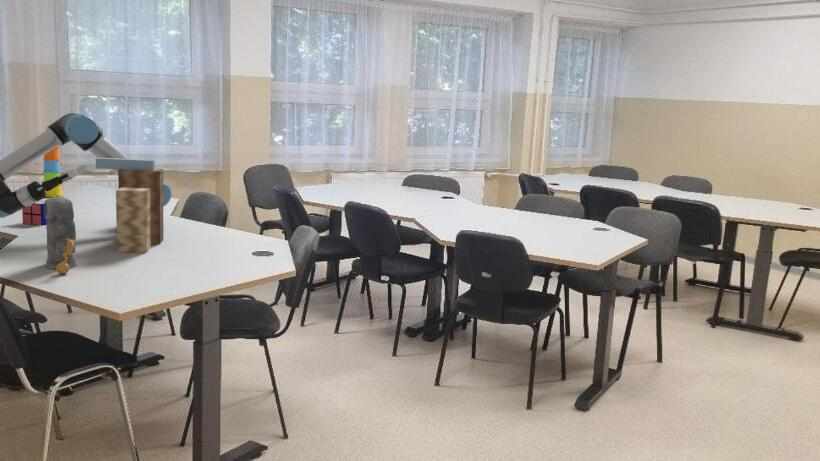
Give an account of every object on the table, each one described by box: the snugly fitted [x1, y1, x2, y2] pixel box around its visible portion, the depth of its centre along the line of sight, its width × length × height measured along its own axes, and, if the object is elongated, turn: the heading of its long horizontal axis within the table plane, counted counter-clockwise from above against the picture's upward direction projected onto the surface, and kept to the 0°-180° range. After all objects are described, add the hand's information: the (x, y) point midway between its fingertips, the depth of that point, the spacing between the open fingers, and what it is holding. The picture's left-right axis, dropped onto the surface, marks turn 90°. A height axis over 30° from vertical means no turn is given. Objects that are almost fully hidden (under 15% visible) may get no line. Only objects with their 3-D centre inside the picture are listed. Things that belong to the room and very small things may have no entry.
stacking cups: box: [42, 146, 64, 198], centre depth 402 cm, size 10×10×35 cm
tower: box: [117, 168, 165, 245], centre depth 297 cm, size 16×9×30 cm, turn 101°
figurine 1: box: [44, 195, 77, 270], centre depth 251 cm, size 10×14×25 cm
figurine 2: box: [55, 239, 76, 275], centre depth 241 cm, size 8×6×12 cm
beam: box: [95, 157, 156, 171], centre depth 293 cm, size 22×4×4 cm, turn 101°
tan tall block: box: [115, 188, 152, 253], centre depth 281 cm, size 11×9×24 cm
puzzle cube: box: [21, 199, 47, 227], centre depth 325 cm, size 10×10×10 cm
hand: (80, 169), depth 290 cm, fingers open, 13 cm apart
